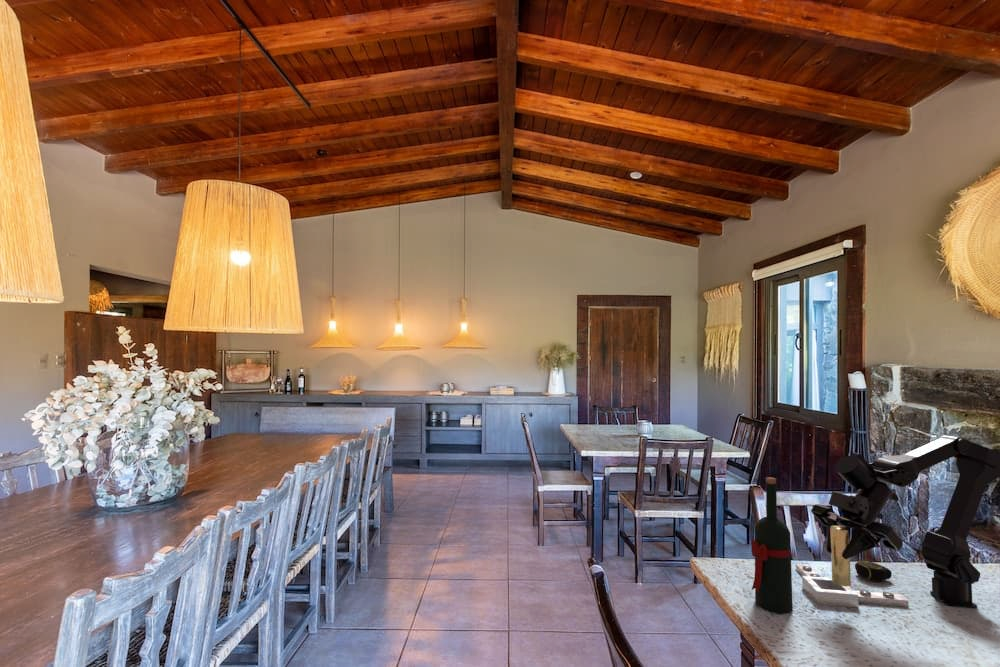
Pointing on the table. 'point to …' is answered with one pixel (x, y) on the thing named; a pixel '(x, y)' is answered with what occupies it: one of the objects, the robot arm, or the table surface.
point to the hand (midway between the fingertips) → (835, 554)
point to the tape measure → (872, 571)
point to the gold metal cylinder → (840, 556)
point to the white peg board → (843, 592)
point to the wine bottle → (772, 558)
